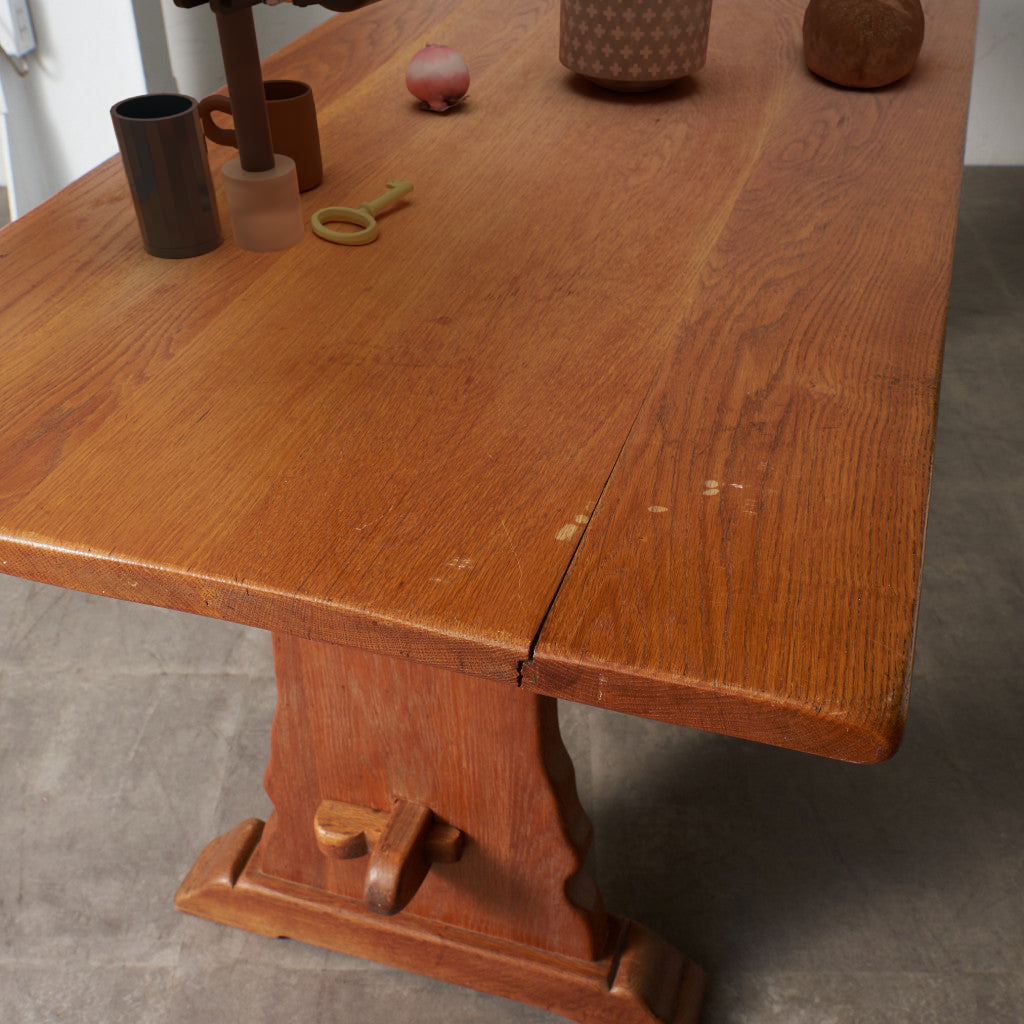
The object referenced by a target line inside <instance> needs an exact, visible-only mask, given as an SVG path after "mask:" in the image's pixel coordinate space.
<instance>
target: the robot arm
mask: <svg viewBox="0 0 1024 1024" xmlns="http://www.w3.org/2000/svg"><path fill="white" fill-rule="evenodd" d="M172 1H173V4H174V5H175V7H177V8H179V9H186V10H190V9H193V8H196V7H199V6H203V5H205V4H209V7H210V11H211V12H212V13H213V14H215V13H216V14H222V15H227V14H230V13H233V12H236V11H239V10H242V9H245V8H248V7H251V6H252V7H254V6H257V5H260V4H263V5H266V6H269V7H276V6H278V5H280V4H284V3H286V4H287V3H288V4H292V6H294V7H298V8H303V9H304V8H307V7H309V6H316V5H318V6H321V7H322V8H324V9H327V10H329V11H331V12H335V13H345V14H346V13H352V12H356V11H357V10H360V9H364V8H365V7H368V6H371V5H373V4H376V3H379V2H381V1H382V0H172Z"/></svg>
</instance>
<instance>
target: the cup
mask: <svg viewBox="0 0 1024 1024" xmlns="http://www.w3.org/2000/svg"><path fill="white" fill-rule="evenodd" d="M199 103H200V102H199V101H198V100H197V98H195V97H193V96H190V95H187V94H183V93H174V92H158V93H157V92H155V93H154V92H153V93H147V94H139V95H136V96H132V97H128V98H125V99H123V100H119V101H118V102H116V103H114V104H113V105H111V106H110V109H109V115H110V119H111V123H112V127H113V132H114V135H115V139H116V143H117V146H118V151H119V155H120V160H121V163H122V166H123V172H124V175H125V178H126V183H127V187H128V191H129V195H130V199H131V204H132V208H133V212H134V215H135V219H136V224H137V227H138V231H139V235H140V238H141V242H142V245H143V249H144V250H145V252H147V253H148V254H150V255H152V256H154V257H158V258H163V259H185V258H193V257H197V256H201V255H204V254H206V253H207V254H208V253H209V252H212V251H213V250H215V249H217V248H218V247H219V246H220V245H221V244H223V242H224V239H225V235H224V230H223V221H222V218H221V212H220V208H219V207H220V206H219V202H218V201H219V200H218V197H217V191H216V186H215V182H214V176H213V171H212V165H211V160H210V156H209V151H208V145H207V140H206V136H205V134H204V129H203V124H202V119H201V113H200V108H199Z"/></svg>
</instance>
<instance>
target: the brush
mask: <svg viewBox="0 0 1024 1024" xmlns="http://www.w3.org/2000/svg"><path fill="white" fill-rule="evenodd" d="M214 15H215V21H216V28H217V34H218V39H219V44H220V50H221V56H222V63H223V68H224V74H225V80H226V85H227V90H228V92H227V93H228V96H229V98H230V104H231V110H232V115H231V116H232V122H233V129H234V130H235V133H236V139H237V145H238V149H237V150H238V156H237V157H234V158H231V159H229V160H228V161H226V162H224V163H223V164H222V166H221V169H220V171H221V177H222V183H223V188H224V193H225V198H226V202H227V209H228V215H229V219H230V225H231V231H232V237H233V242H234V244H235V245H236V247H238V248H239V249H241V250H244V251H247V252H250V253H251V252H252V253H258V254H259V253H261V254H262V253H264V254H265V253H276V252H282V251H285V250H288V249H292V248H294V247H296V246H298V245H300V244H301V243H302V242H303V240H304V239H305V236H306V233H305V225H304V218H303V210H302V204H301V203H302V202H301V196H300V192H299V187H298V180H297V173H296V165H295V162H294V161H293V160H292V159H291V158H289V157H287V156H284V155H280V154H274V153H273V146H272V139H271V132H270V126H269V119H268V112H267V105H266V99H265V92H264V85H263V81H264V80H263V79H264V78H263V72H262V65H261V59H260V53H259V46H258V38H257V32H256V25H255V19H254V12H253V6H251V7H248V8H245V9H242V10H239V11H236V12H233V13H230V14H227V15H222V14H216V13H214Z"/></svg>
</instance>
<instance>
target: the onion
mask: <svg viewBox="0 0 1024 1024" xmlns="http://www.w3.org/2000/svg"><path fill="white" fill-rule="evenodd" d="M405 84H406V85H405V86H406V89H407V91H408V92H409V93H410V94H411V95H412V96H413V97H415V98H416V99H417V100H419V101H421V102H423V104H422V105H421V107H420V109H422V110H426V111H435V112H444V111H446V110H447V109H449V108H451V107H455V106H457V105H458V104H461V103H462V102H464V101H466V100H467V98H469V97H471V95H470V94H468V95H467V93H468V91H469V88H470V85H471V76H470V71H469V68H468V64H467V62H466V60H465V59H464V57H463V56H462V55H461V54H460V53H459V52H458V51H457V50H456V49H454V48H452V47H451V46H449V45H447V44H444V43H442V42H438V43H432V42H426V43H425V47H423V48H422V49H420V50H419V51H418V52H416V53H415V54H414V56H413V57H412V58H411V60H410V61H409V63H408V66H407V68H406V72H405ZM459 100H460V101H459ZM450 101H453V102H455V104H453V105H449V104H448V103H450ZM457 101H459V102H457ZM456 102H457V103H456Z"/></svg>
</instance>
